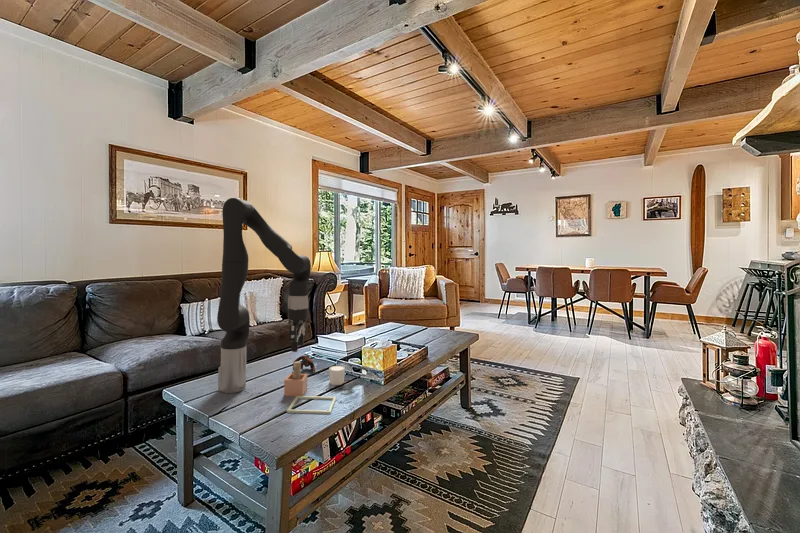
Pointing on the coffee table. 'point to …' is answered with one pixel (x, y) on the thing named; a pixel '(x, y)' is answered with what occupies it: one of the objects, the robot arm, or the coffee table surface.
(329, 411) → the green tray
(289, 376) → the square clay pot
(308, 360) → the brown curved piece
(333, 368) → the beige cylinder
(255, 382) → the coffee table surface
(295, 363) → the birch pin
